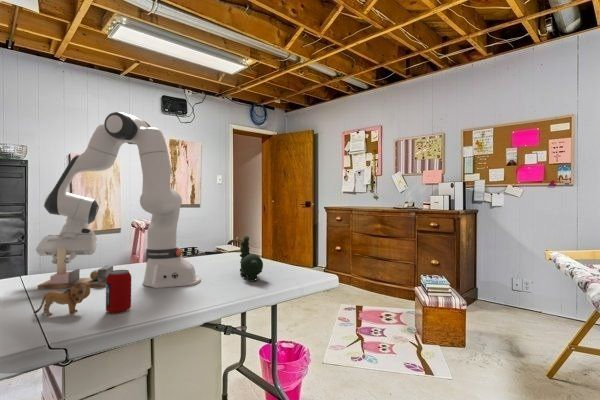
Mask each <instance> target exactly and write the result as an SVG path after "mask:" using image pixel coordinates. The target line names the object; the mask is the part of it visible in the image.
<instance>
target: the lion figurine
mask: <svg viewBox="0 0 600 400" xmlns="http://www.w3.org/2000/svg"><path fill="white" fill-rule="evenodd" d="M90 294H91V287H90V284H88V283H87V282H80V283H78V284H77V285H75V286H73V287H71V288H67V289H66V290H65V291H57V290H49V291H47V292H46V293H45V294H44V295H43V297H42V301H41V303H40V305H39V308H38V309H36V310H35V311H33V314H37V313H39V312H40V311H41V309H42V307H43V310H42V311H43V313H46V316H48V317H50V316H52V315H53V312H50V308H51V306H52V305H53V304H54V303H56V304H58V305H63V306H65V305H68V314H69V315H70V316H74V315H75V314H76V313H77V312H78V309H76V307H77V304H80V303H82V301H83V300H85V299H87V298H88V297H89V296H90ZM44 303H45V304H44Z"/></svg>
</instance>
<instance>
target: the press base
mask: <svg viewBox="0 0 600 400" xmlns="http://www.w3.org/2000/svg"><path fill="white" fill-rule="evenodd" d="M110 271H114V265H104V266H102V267H100V268H99V269H96V270H93V271H91V272H90V274H89V276H90V277H81V278H80V277H79V279H78V280H76V281H74V282H72V283H64V284H50V279H49V280H47V281H44V282H42V283H40V284H37V286H36V287H37V290H52V289H54V290H56V289H57V290H58V289H59V290H60V289H69V288H71V287H73V286H75V285H77V284H78V283H80V282H87V283H88V284H90V288H104V287H105V288H106V278H107V276H108V274H109V272H110Z"/></svg>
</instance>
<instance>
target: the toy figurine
mask: <svg viewBox="0 0 600 400" xmlns="http://www.w3.org/2000/svg"><path fill="white" fill-rule="evenodd" d="M242 240H243V241H241V243H240V245H241V247H240V248H239V250H240V251H241V253H240V254H239V257H240V262H239V263H240V268H239V272H240V274H239V275H240V276H241V277H242V278H243V277H244V278H246V279H247V281H249V280H255V279H257V280H258V277H259V276H257V275H260V274H261V273H263V268H264V263H263V260H262V258H261V257H260V256H259V255H257V254H251V252H250V250H251V249H250V247H249V245H250V242H249V241H250V237H249V236H248V235H245V236H243V239H242ZM255 281H256V280H255Z"/></svg>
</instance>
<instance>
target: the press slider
mask: <svg viewBox="0 0 600 400" xmlns="http://www.w3.org/2000/svg"><path fill="white" fill-rule="evenodd" d="M66 249H67V248H57V257H56V258H57V264H56V273H54V274H52V275H50V276H49V277H50V278H49V280H50V284H64V283H72V282H74V281H76V280H78V279H79V278H80V275H81V274H80V272H81V271H80V270H81V269H80V268H76V269H74V270H71V271H67V263H65V260H66V258H67V255H66Z"/></svg>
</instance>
